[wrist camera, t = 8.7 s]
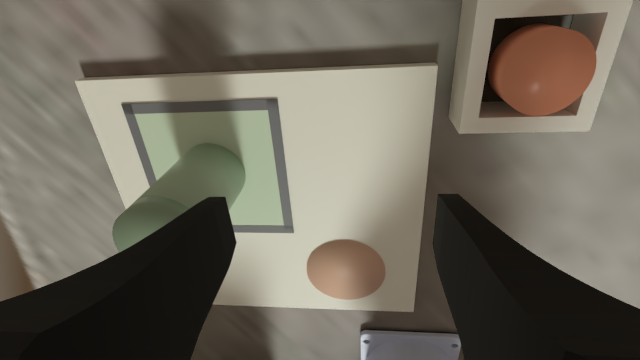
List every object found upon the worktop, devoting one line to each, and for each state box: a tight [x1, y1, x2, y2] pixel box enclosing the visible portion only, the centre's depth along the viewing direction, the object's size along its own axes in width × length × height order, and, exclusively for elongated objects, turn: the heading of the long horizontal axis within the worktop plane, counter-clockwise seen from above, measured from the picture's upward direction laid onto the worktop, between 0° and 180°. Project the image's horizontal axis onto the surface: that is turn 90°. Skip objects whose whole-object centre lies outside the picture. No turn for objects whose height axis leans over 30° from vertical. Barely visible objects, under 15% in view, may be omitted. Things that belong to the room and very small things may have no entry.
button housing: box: [448, 0, 633, 134], centre depth 17 cm, size 6×6×2 cm
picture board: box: [75, 62, 438, 312], centre depth 23 cm, size 18×20×1 cm
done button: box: [488, 23, 597, 116], centre depth 16 cm, size 4×4×2 cm
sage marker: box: [113, 143, 245, 252], centre depth 19 cm, size 4×4×7 cm
